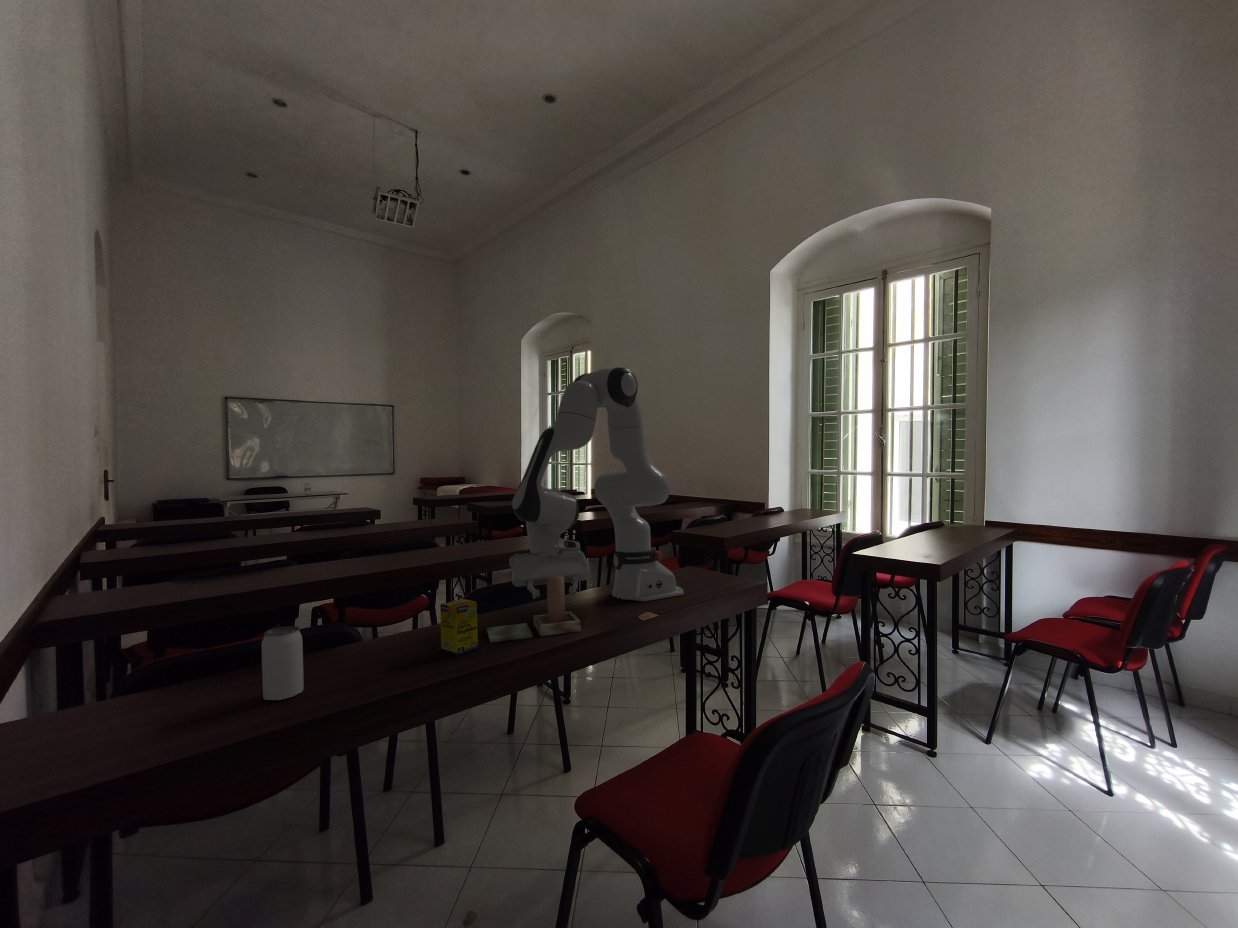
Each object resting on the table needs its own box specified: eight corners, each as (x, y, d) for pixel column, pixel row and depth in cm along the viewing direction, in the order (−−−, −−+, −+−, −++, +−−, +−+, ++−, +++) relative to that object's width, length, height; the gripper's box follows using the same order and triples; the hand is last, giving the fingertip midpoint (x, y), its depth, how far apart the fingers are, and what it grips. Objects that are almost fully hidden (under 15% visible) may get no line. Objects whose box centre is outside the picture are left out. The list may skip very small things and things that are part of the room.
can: (281, 687, 106) (280, 625, 106) (311, 688, 105) (310, 625, 105) (254, 701, 100) (252, 635, 100) (285, 703, 99) (283, 636, 99)
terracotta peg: (563, 624, 143) (562, 574, 143) (567, 629, 138) (565, 577, 138) (546, 626, 141) (545, 576, 141) (550, 631, 137) (548, 579, 137)
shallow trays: (571, 620, 146) (571, 611, 146) (580, 631, 137) (580, 621, 137) (486, 630, 139) (486, 620, 139) (490, 642, 130) (490, 631, 130)
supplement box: (457, 656, 121) (455, 607, 121) (440, 651, 124) (439, 603, 124) (478, 649, 125) (477, 601, 125) (462, 644, 129) (461, 597, 129)
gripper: (509, 547, 144) (514, 592, 135) (584, 542, 150) (595, 584, 141) (507, 561, 148) (513, 606, 139) (581, 556, 155) (591, 598, 145)
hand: (555, 595), depth 140 cm, fingers open, 8 cm apart
